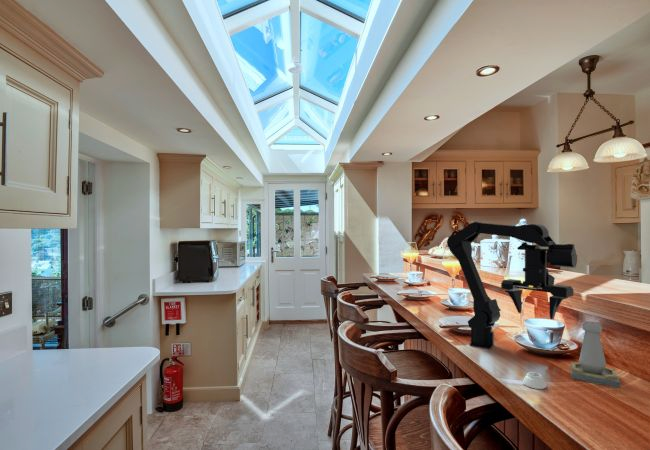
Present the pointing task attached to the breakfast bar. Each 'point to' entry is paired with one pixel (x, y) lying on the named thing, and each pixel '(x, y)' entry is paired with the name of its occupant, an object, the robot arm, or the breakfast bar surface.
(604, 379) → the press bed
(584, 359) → the salt shaker
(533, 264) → the robot arm
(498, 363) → the breakfast bar surface
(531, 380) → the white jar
